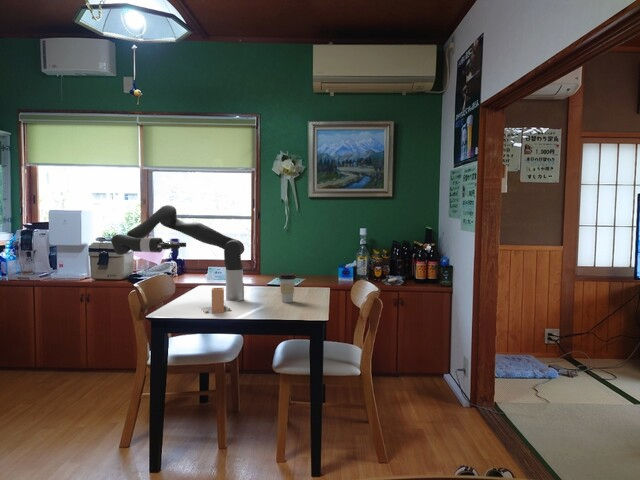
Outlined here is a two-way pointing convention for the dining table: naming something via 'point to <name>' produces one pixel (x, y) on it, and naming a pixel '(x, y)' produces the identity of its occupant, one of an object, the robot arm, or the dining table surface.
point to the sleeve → (218, 300)
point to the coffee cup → (287, 287)
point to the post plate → (209, 309)
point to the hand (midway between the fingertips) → (182, 245)
